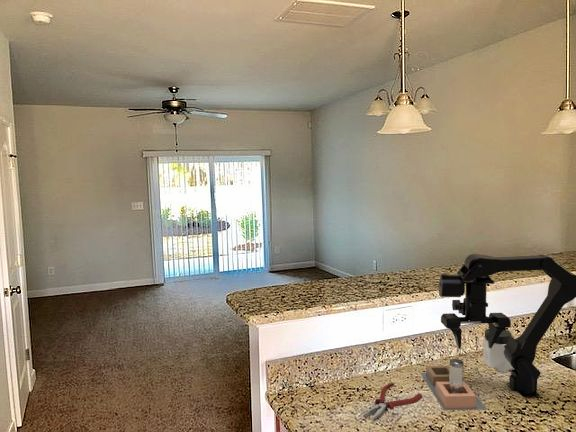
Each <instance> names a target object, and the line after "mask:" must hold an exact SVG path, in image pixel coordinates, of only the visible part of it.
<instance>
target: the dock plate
mask: <svg viewBox="0 0 576 432" xmlns="http://www.w3.org/2000/svg"><path fill="white" fill-rule="evenodd" d="M449 373H450V365H426V366H425V372H420V375H421V377H422V379H424V381H425V383H426V384H427V387H428V388H429V389H430V391H431V393H432V394H433V396H434V398H435V399H436V401H437V402H438V404H439V405H440V407H441V409H442V411H482V410H483V411H487V410H488V408H487V407H486V406H485V404H484V403H483V402H482V401H481V400H480V398H479V397H478V396H477V395H476V393H475V392H474V391H473V393H474V394H475V395H476V408H448V409H445V407H444V406H443V404H442V402H441V401H440V399H439V398H438V396H437V395H436V382H449ZM463 381H465V379H463ZM465 383H466V384H467V382H466V381H465ZM469 388H470V389H471V387H470V386H469ZM471 390H472V389H471Z"/></svg>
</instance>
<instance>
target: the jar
mask: <svg viewBox="0 0 576 432" xmlns="http://www.w3.org/2000/svg"><path fill="white" fill-rule="evenodd" d="M510 337H513V335H512V332H511V331H509V330H507V329H506V330H503V331H502V333H501V334H500V335H499V337H498V338H497V340H496V341H495V343H494V345H493V346H492V348H489V346H488V340H489V328H486V329H485V330H484V337H483V339H482V343H483V344H482V363H483V364H485V365H486V366H487V367H489V368H490V369H491V368H492V369H494V370H495V371H496V372H500V373H506V372H508V371H511V370H513V367H512V366H511V365H510V363H509V362H508V361H507V359H506V358H505V356H504V350H505V348H504V346H505V345H506V344H507V343H508V341H509V339H510Z"/></svg>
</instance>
